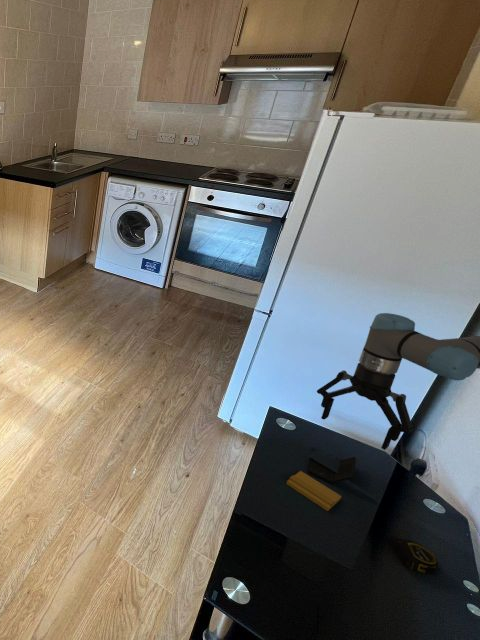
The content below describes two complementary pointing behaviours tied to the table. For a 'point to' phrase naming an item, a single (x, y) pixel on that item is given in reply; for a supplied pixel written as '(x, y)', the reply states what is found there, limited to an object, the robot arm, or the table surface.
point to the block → (314, 490)
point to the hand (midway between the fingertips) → (353, 431)
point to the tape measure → (415, 556)
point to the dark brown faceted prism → (330, 476)
